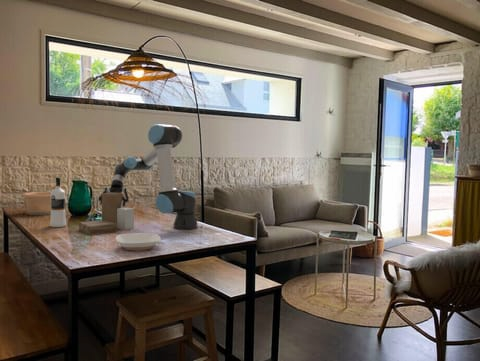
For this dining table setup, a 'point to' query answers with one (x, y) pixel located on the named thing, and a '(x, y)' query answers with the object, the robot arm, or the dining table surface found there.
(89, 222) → the plinth
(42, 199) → the pottery
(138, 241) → the bowl
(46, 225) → the dining table surface
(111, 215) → the block
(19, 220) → the dining table surface
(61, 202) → the vodka
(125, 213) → the white canister
